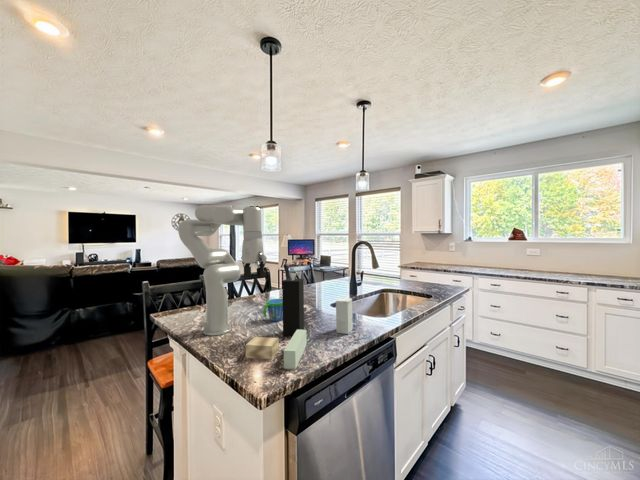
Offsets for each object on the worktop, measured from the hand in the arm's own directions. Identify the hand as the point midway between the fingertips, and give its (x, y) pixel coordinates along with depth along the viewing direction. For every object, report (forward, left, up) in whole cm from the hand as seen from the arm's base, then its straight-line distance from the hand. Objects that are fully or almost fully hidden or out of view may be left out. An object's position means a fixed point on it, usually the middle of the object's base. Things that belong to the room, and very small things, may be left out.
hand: (253, 276), depth 113 cm
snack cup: (0, +31, -28) cm, 42 cm away
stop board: (+20, -11, -28) cm, 36 cm away
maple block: (+7, -11, -28) cm, 31 cm away
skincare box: (+37, +17, -28) cm, 50 cm away
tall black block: (+14, +11, -28) cm, 33 cm away
